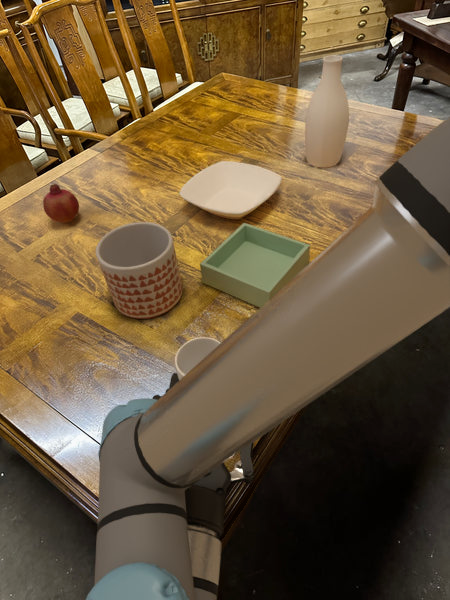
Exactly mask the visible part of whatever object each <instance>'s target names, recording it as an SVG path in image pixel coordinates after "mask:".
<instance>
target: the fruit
mask: <svg viewBox="0 0 450 600" xmlns="http://www.w3.org/2000/svg"><path fill="white" fill-rule="evenodd" d="M42 203H43V204H42V206H43V211H44V213H45V214H46V216H47V217H49V218H50V219H51V221H55V222H57V223H63V224H65V223H70V222H72V221H73V220H74V219H75V218H76V217H77V215H78V214H79V210H80V204H79V200H78V198H77V197H76V195H75V194H74V193H72V192H71V191H70V190H67V189H63V188H61V187H60V186H59V185H58V184H56V183H54V184H51V185H50V186H49V192H47V193H46V194H45V196H44V197H43V201H42Z"/></svg>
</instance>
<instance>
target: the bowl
mask: <svg viewBox="0 0 450 600" xmlns="http://www.w3.org/2000/svg"><path fill="white" fill-rule="evenodd" d="M282 179H283V178H282V176H281V175H280V174H278V173H276V172H274V171H273V170H270V169H268V168H265V167H262V166H258V165H255V164H251V163H250V164H249V163H246V162H240V161H234V160H232V161H231V160H221V161H218V162H216V163H213V164H211V165H209V166H207V167H205V168H203V169H202V170H200V171H199V172H198V173H195V174H194V175H193V176H192V177H191V178H189V179H188V180H187V182H185V183H184V184H183V185H182V187H181V189H180V190H179V192H178V196H181V198H182V199H183V200H184V201H187V202H188V203H190V204H192V205H194V206H196V207H197V208H199V209H202V210H204V211H206V212H207V213H209V214H211V215H213V216H216V217H220V218H224V219H227V220H229V219H230V220H240V219H242V218H244V217H246V216H248V215H249V214H250V213H252V212H253V211H255V210H256V209H257V208H258V207H260V206H261V205H262V204H264V203H265V202H266V201H267V200H268V199H269V198H271V197H272V196H273V195H274V193H276V191H277V190H278V188H279V187H280V185H281V183H282Z"/></svg>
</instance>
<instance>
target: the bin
mask: <svg viewBox="0 0 450 600" xmlns="http://www.w3.org/2000/svg"><path fill="white" fill-rule="evenodd" d="M310 252H311V244H309V243H307V242H303V241H300V240H297V239H294V238H291V237H288V236H285V235H282V234H279V233H276V232H273V231H270V230H267V229H264V228H261V227H258V226H255V225H252V224H249V223H247V222H243V223H241V225H240V226H239V227H238V228H236V230H234V232H232V233H231V234H230V235H229V236H228V237H227V238H226V239H225V240H224V241H223V242H221V244H220V245H218V246H217V247H216V248H214V250H213V251H212V252H211V253H210V254H209V255H207V256H206V257H205V258H204V259H203V260H202V261H201V262H200V263H199V268H200V274H201V281H202V283H203V284H204V285H206V286H209V287H211V288H214V289H215V290H219V291H221V292H223V293H225V294H227V295H230V296H232V297H234V298H237V299H240V300H242V301H244V302H246V303H248V304H251V305H252V306H255V307H258V308H260V307H261V306H263V305H264V304H265V303H266V302H267V301H268V300H269V299H270V298H271V297H273V296H274V295H275V294H276V293H277V292H278V291H279V290H280V289H281V288H283V287H284V286H285V285H286V284H287V283H288V282H289V281H290V280H291V279H293V278H294V277H295V276H296V275H297V274H298V273H299V272H300V271H301V270H302V269H304V268H305V267H306V266H307V265H308V264H309V263H310V254H311V253H310Z"/></svg>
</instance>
